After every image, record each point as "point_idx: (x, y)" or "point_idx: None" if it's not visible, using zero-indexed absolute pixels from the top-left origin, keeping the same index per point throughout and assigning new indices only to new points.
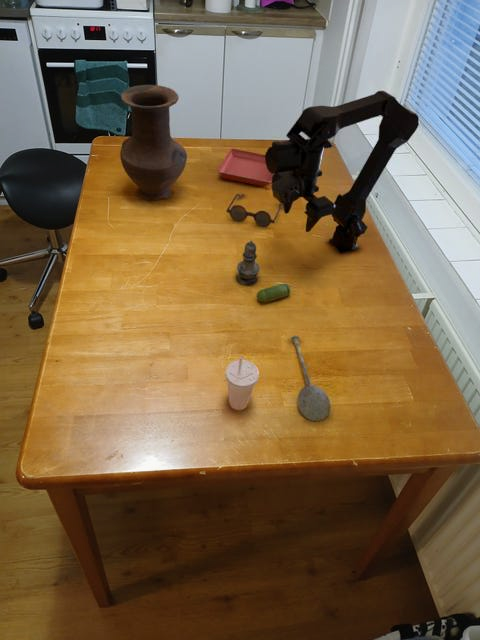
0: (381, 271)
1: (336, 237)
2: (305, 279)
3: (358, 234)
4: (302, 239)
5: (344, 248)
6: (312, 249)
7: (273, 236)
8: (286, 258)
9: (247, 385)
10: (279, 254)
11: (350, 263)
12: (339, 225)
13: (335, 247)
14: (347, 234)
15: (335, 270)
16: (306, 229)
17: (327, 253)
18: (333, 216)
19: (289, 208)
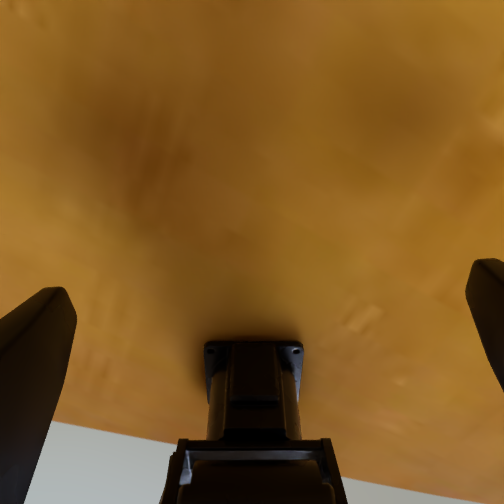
0: (66, 397)
1: (248, 384)
2: (54, 99)
3: (168, 470)
4: (373, 258)
5: (218, 367)
6: (282, 260)
7: (491, 133)
8: (272, 95)
9: None
10: (325, 73)
11: (136, 340)
12: (279, 441)
13: (238, 344)
14: (214, 432)
15: (103, 272)
16: (25, 308)
17: (228, 300)
18: (300, 475)
19: (490, 338)
